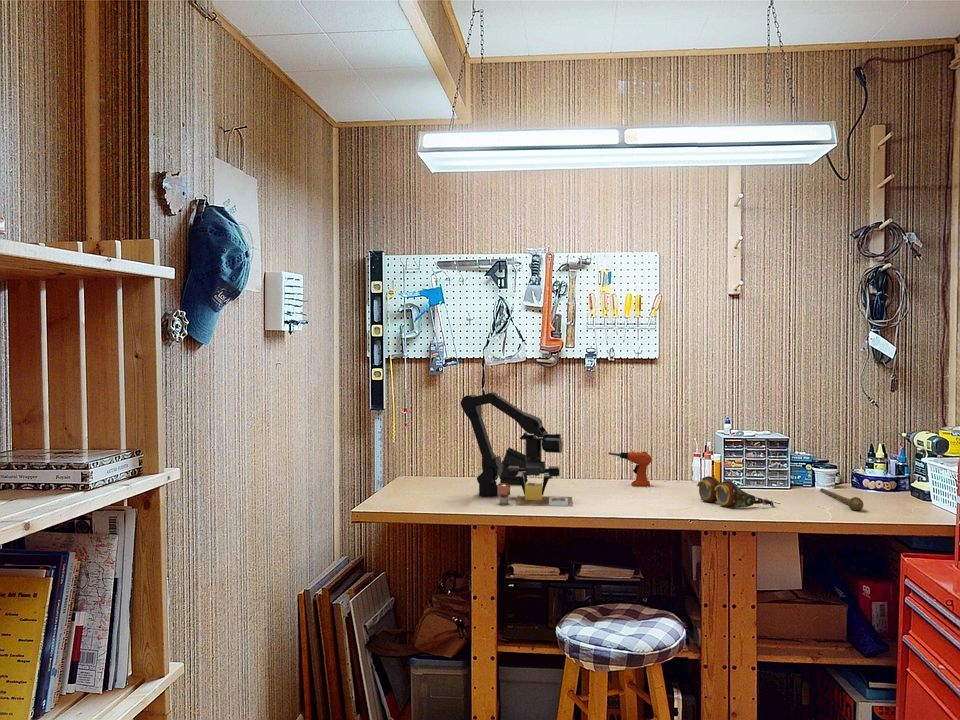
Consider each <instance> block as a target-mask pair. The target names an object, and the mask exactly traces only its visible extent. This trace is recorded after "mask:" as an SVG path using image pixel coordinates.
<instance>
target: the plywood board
mask: <svg viewBox="0 0 960 720" xmlns="http://www.w3.org/2000/svg"><path fill="white" fill-rule="evenodd" d="M549 497H555V498H568V506H564V507H566V508H567V507H574V502H573V496H561V495H560V496H558V495H557V496H554V495H553V496H549V495H548V496H544V495H542V500H525V495H517V496H516V500H515V504H514V506H519V507H520V506H523V507H528V506H529V507H550V506H549Z"/></svg>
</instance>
